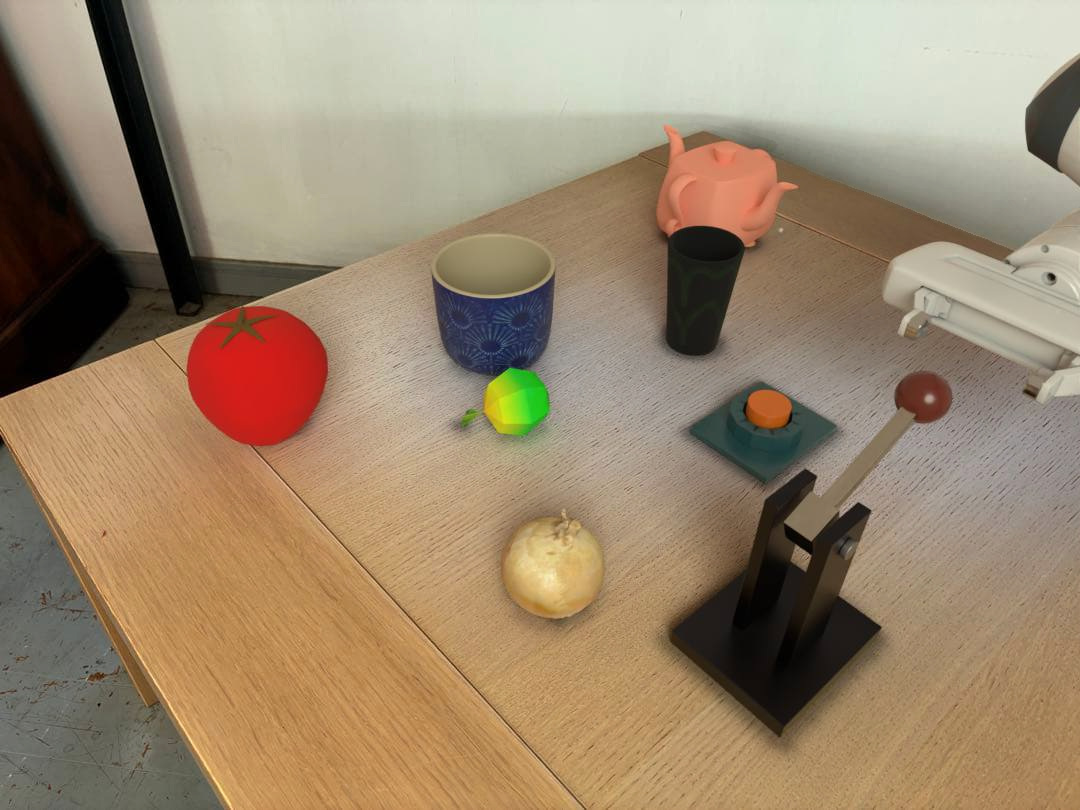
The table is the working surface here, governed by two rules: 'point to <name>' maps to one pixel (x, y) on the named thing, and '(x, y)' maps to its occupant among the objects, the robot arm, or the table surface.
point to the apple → (514, 402)
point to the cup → (700, 286)
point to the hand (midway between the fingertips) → (968, 359)
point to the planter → (494, 301)
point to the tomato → (257, 374)
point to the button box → (762, 436)
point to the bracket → (783, 616)
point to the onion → (553, 566)
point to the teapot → (719, 189)
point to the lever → (870, 455)
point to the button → (768, 409)
